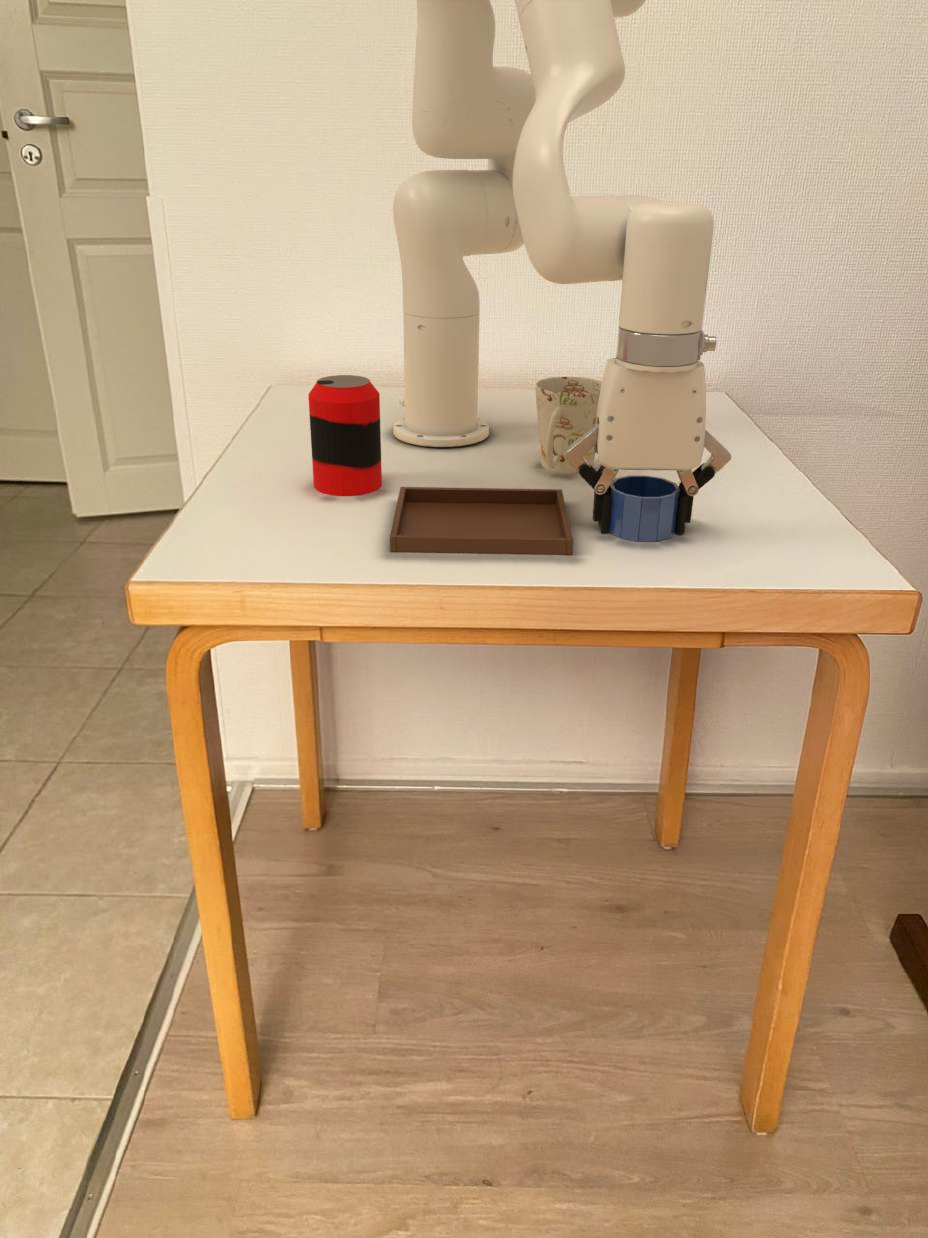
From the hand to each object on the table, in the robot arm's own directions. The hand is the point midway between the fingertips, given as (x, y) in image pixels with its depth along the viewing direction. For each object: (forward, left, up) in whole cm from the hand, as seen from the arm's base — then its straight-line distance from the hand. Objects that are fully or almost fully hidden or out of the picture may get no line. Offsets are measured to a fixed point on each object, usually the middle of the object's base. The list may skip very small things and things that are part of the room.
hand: (640, 527), depth 98 cm
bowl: (0, 0, -1) cm, 1 cm away
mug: (-19, +5, -1) cm, 19 cm away
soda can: (-27, -19, -1) cm, 33 cm away
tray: (-9, -13, -1) cm, 16 cm away
